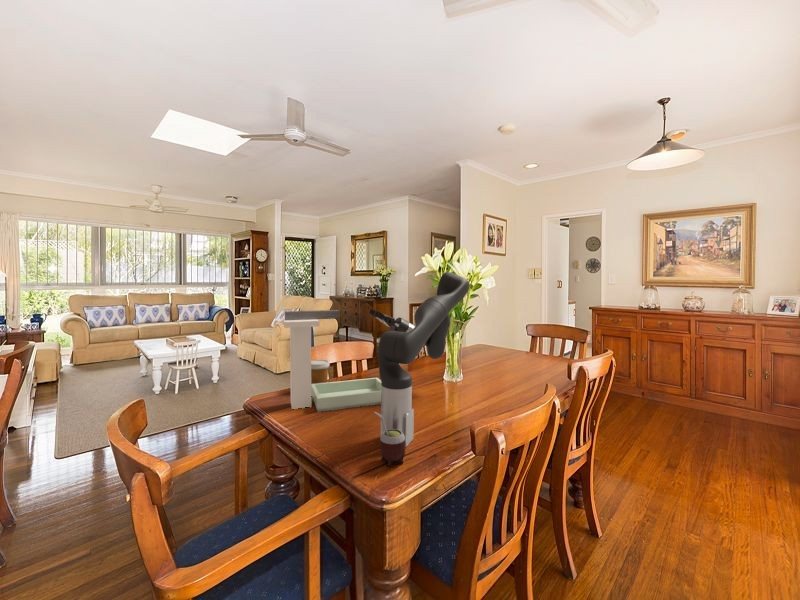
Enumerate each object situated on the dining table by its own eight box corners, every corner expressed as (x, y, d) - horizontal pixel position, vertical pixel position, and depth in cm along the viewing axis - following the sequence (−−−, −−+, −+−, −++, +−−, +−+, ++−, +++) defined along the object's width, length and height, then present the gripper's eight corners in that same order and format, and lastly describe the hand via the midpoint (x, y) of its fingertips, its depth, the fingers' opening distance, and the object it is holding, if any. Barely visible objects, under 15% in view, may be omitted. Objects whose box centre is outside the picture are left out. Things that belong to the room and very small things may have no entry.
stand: (314, 397, 142) (314, 316, 140) (319, 409, 130) (319, 320, 128) (283, 401, 138) (282, 317, 135) (285, 413, 126) (284, 322, 123)
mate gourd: (408, 457, 97) (409, 404, 96) (399, 472, 89) (400, 415, 88) (383, 453, 99) (383, 401, 98) (372, 467, 91) (373, 411, 90)
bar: (338, 317, 138) (338, 310, 138) (339, 318, 135) (339, 310, 135) (284, 319, 131) (284, 311, 131) (285, 320, 128) (285, 312, 128)
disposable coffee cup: (334, 389, 153) (334, 362, 152) (315, 394, 146) (315, 365, 145) (321, 384, 160) (321, 358, 159) (303, 389, 153) (302, 361, 152)
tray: (377, 388, 154) (377, 377, 154) (391, 402, 138) (391, 390, 137) (311, 396, 144) (311, 384, 144) (317, 412, 127) (317, 398, 127)
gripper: (402, 319, 154) (371, 302, 148) (415, 324, 140) (382, 305, 135) (394, 335, 153) (363, 317, 147) (406, 341, 140) (372, 322, 134)
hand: (372, 311), depth 141 cm, fingers open, 8 cm apart
